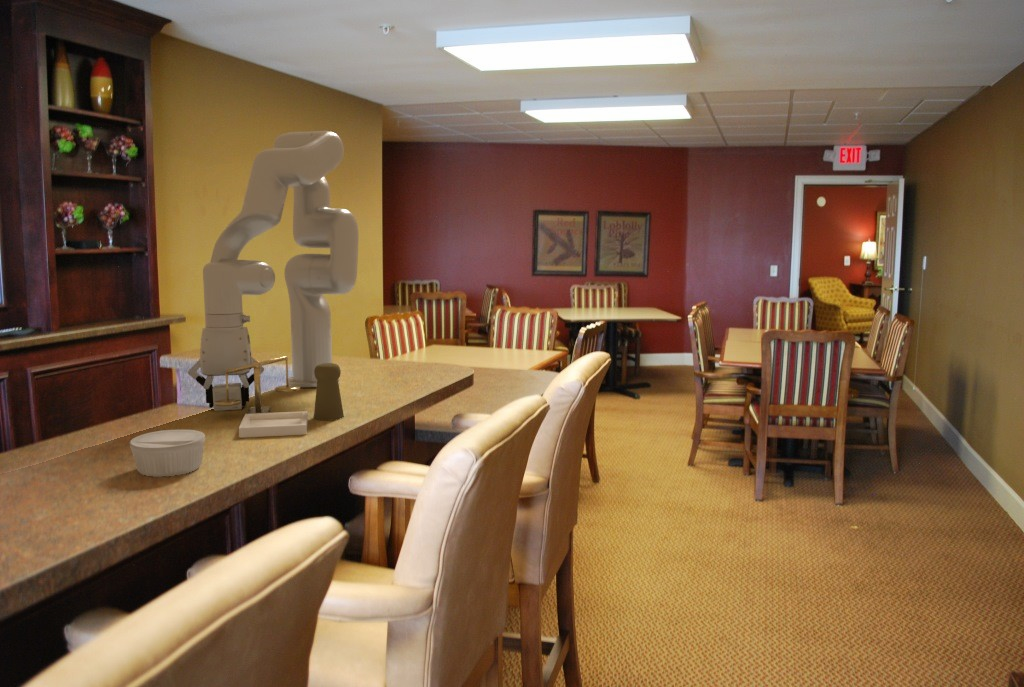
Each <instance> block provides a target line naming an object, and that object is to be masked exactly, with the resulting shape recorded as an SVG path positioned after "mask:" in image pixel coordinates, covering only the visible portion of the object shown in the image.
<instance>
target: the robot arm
mask: <svg viewBox="0 0 1024 687" xmlns="http://www.w3.org/2000/svg"><path fill="white" fill-rule="evenodd" d="M344 148H345V147H344V143H343V140H342V139H341V137H340V136H339V135H338V134H337V133H335V132H333V131H329V130H317V131H316V130H314V131H312V130H311V131H310V130H309V131H291V132H286V133H282V134H280V135H278V136H277V137H276V138H275V139H274V142H273V148H267V149H264V150H262V151H261V150H260V151H259V152H258V153H257V154H256V155H255V157H254V159H253V162H252V166H251V170H250V173H249V178H248V182H247V187H246V192H245V195H244V199H243V204H242V207H241V210H240V212H239V213H238V214H237V215H236V217H235V218H233V219H232V220H231V221H230V222H229V224H228V225H227V226H226V227H225V229H224V230H223V231H222V232H221V233H220V234H219V236H218V238H217V240H216V242H215V244H214V247H213V249H212V253H211V258H210V261H209V263H206V264H205V265H204V266H203V268H202V278H203V279H202V281H203V282H202V283H203V285H202V286H203V299H204V300H203V303H204V324H205V327H203V328H202V330H201V337H200V346H199V347H200V348H199V349H200V350H199V351H200V352H199V353H200V355H199V356H200V357H199V359H198V360H197V361H196V362H195V363H194V365H193V366H192V367H191V368H190V369H188V371H187V374H188V375H189V376H190V377H192V379H194V380H195V381H196V382H197V383H198V384H200V386H201V387H203V389H204V390H205V403H206V404H209V405H208V406H209V409H210V408H214V404H213V390H212V389H213V387H214V386H213V381H214V378H215V377H219V376H222V377H224V376H225V377H226V373H225V370H229V369H233V368H237V367H241V366H246V365H250V364H252V363H253V362H254V361H257V360H256V358H254V357H253V356H252V348H251V339H250V338H251V337H250V334H249V330H248V327H247V326H244V324H245V323H250V322H251V316H250V315H246V314H244V312H243V295H244V296H261V295H264V294H266V293H269V291H271V290H272V288H273V287H274V285H275V282H276V275H275V270H274V269H273V267H272V266H270V264H269V263H266V262H264V261H261V260H253V259H249V260H247V259H239V256H240V254H241V252H242V251H243V249H244V248H245V246H247V244H248V243H249V242H250V241H252V240H253V239H255V238H256V237H258V236H260V235H262V234H264V233H266V232H268V231H269V230H271V229H273V228H275V227H276V226H278V225H279V224H280V223H281V219H282V216H283V213H284V212H283V211H284V208H285V203H286V202H285V201H286V198H287V194H288V190H289V188H292V189H293V210H292V211H293V213H292V236H293V237H292V238H293V240H294V242H295V244H297V245H298V246H299V247H302V248H308V249H329V251H330V254H327V253H326V254H325V253H300V254H297V255H294V256H292V257H291V258H290V259H289V260H287V262H286V264H285V267H284V279H285V284H286V289H287V292H288V299H289V309H290V310H289V312H290V335H291V336H290V337H291V340H290V341H291V364H292V365H291V367H292V376H290V377H288V383H289V385H295V386H300V388H317V379H316V378H315V374H314V370H315V367H316V366H317V365H319V364H323V363H333V350H332V348H333V347H332V317H331V316H332V314H331V309H330V305H329V303H328V301H327V299H326V298H325V296H324V295H346V294H348V293H350V292H351V291H352V290H353V289H354V288H355V286H356V283H357V278H358V276H357V275H358V256H359V224H358V223H357V219H356V217H355V215H354V214H353V213H352V212H351V211H349V210H348V209H345V208H339V207H337V208H335V207H334V208H331V188H330V185H329V182H328V181H327V178H326V177H325V176H326V175H328V174H329V173H331V172H332V171H334V170H335V169H336V168H337V167H338V166H339V165H340V164H341V163H342V160H343V158H344V153H345V152H344V151H345V149H344ZM199 369H200V373H199V372H198V370H199ZM251 370H252V368H250V369H246V370H242V371H237V372H233V373H229V374H228V376H238V378H239V379H240V383H241V400H242V407H246V406H247V402H248V403H249V402H250V386H251V384H253V382H254V372H253V373H251V375H249V377H248V374H249V373H250V372H251ZM264 371H265V367H264V366H261V367H260V375H262V374H263V373H264ZM201 374H202V375H201ZM203 375H204V376H206V378H205V377H204V376H203ZM339 382H340V378H339V379H338V383H339Z"/></svg>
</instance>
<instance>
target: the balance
mask: <svg viewBox="0 0 1024 687" xmlns="http://www.w3.org/2000/svg"><path fill="white" fill-rule="evenodd" d="M288 360H289V358H288V356H287V355H285V356H280V357H276V358H272V359H267V360H263V361H260V360H256V361H254V362H253V363H252V364H250V365H246V366H241V367H237V368H233V369H229V370H225V373H226V376H225V384H226V395H227V399H223V400H218V401H215V405H217V406H232V405H238V404H240V403H241V400H239V399H229V393H228V383H229V375H228V374H229V373H233V372H237V371H242V370H246V369H250V368H251V369H253V373H254V406H249V408H248V410H247V412H246V414H254V413H271V406H270V405H269V406H262V390H261V389H262V388H261V387H262V386H261V374H260V367H261V366H262V367H264V366H266V365H271V364H276V363H280V362H284V361H285V377H286V378H285V379H286V380H285V382H286V385H280V386H276V387H275V388H274V391H275V392H279V393H280V392H281V393H291V392H298V391H301V387H300V386H295V385H289V383H288V378H289V361H288Z"/></svg>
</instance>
